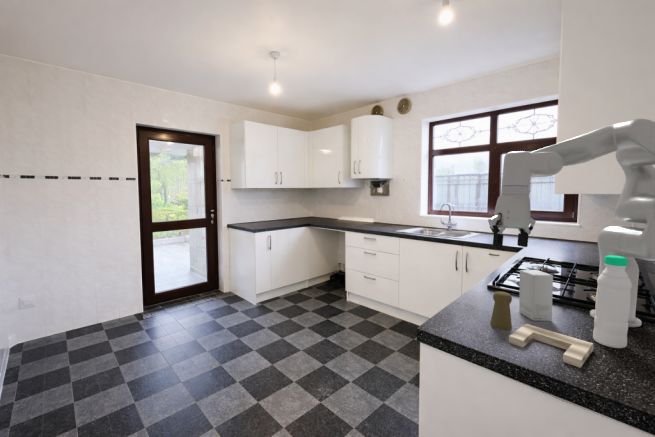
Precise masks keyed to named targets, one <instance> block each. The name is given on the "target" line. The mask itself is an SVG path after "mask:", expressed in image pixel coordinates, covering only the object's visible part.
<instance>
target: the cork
mask: <svg viewBox="0 0 655 437" xmlns="http://www.w3.org/2000/svg"><path fill="white" fill-rule="evenodd" d="M492 300H493V301H494V303H493V309H492V313H491V318H490V323H489V324H490V326H491V327H493V328H494V329H497V330H500V331H511V330H512V329H513V324H512V315H511V306H510V304H511V303H512V302H513V298H512V295H511V294H510V293H508V292H505V291H499V290H498V291H495V292H494V293H493V295H492Z"/></svg>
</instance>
